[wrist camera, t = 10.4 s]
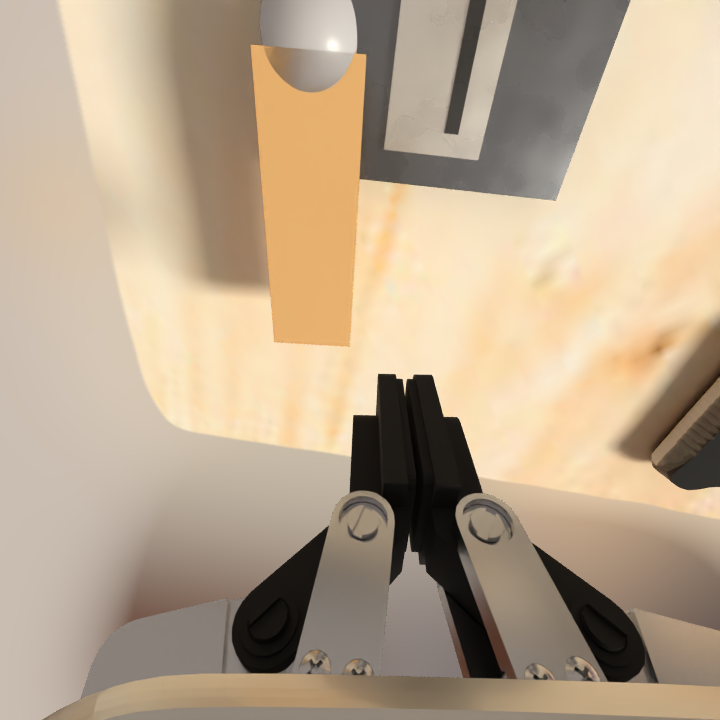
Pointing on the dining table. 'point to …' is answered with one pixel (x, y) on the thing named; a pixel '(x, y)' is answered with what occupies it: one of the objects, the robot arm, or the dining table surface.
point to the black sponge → (693, 446)
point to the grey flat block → (480, 89)
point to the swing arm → (309, 163)
